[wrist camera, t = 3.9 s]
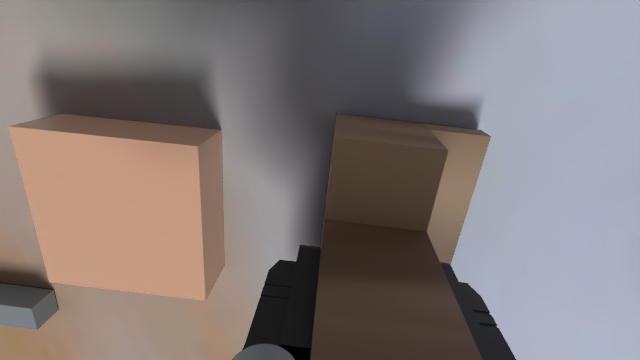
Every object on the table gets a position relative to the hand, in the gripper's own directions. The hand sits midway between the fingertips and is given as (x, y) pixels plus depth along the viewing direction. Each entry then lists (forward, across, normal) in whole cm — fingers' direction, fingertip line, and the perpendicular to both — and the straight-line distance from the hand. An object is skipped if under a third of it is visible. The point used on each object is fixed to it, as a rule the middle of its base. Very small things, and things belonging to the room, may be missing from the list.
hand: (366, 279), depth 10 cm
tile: (+4, +8, 0) cm, 9 cm away
